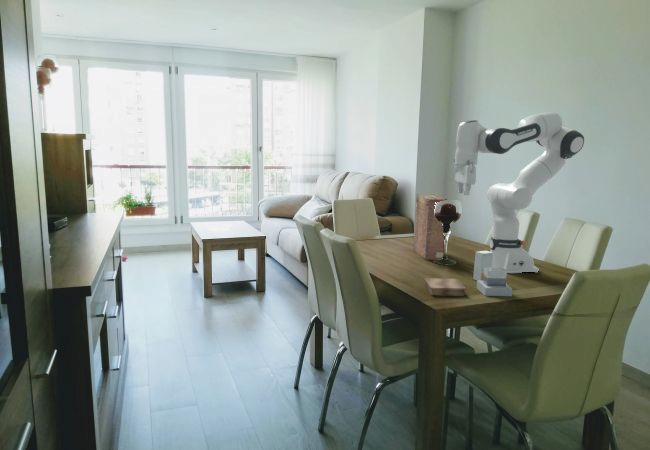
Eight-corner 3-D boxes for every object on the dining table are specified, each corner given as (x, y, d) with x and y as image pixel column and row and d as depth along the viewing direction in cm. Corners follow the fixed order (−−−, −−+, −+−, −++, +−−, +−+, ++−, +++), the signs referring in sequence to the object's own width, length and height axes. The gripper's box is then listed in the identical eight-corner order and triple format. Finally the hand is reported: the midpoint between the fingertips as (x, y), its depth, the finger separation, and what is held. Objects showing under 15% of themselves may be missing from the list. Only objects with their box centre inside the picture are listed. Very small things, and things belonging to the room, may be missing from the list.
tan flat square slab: (456, 286, 187) (457, 278, 186) (465, 296, 174) (466, 288, 173) (423, 285, 187) (424, 278, 186) (430, 295, 174) (431, 287, 174)
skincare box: (480, 281, 194) (482, 253, 192) (472, 279, 198) (475, 251, 196) (491, 280, 196) (493, 252, 194) (484, 278, 200) (486, 250, 198)
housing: (501, 282, 182) (502, 267, 181) (505, 286, 177) (507, 270, 177) (483, 282, 182) (484, 267, 181) (487, 285, 178) (488, 270, 177)
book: (413, 249, 256) (416, 194, 251) (430, 249, 256) (433, 194, 251) (425, 260, 231) (428, 199, 226) (444, 260, 231) (447, 199, 226)
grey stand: (502, 288, 185) (502, 281, 185) (511, 296, 175) (512, 288, 175) (476, 287, 185) (477, 280, 185) (484, 295, 175) (485, 287, 175)
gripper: (481, 161, 183) (478, 196, 186) (467, 160, 204) (464, 192, 206) (464, 160, 184) (462, 196, 186) (452, 159, 204) (450, 191, 206)
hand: (463, 194), depth 196 cm, fingers open, 8 cm apart
